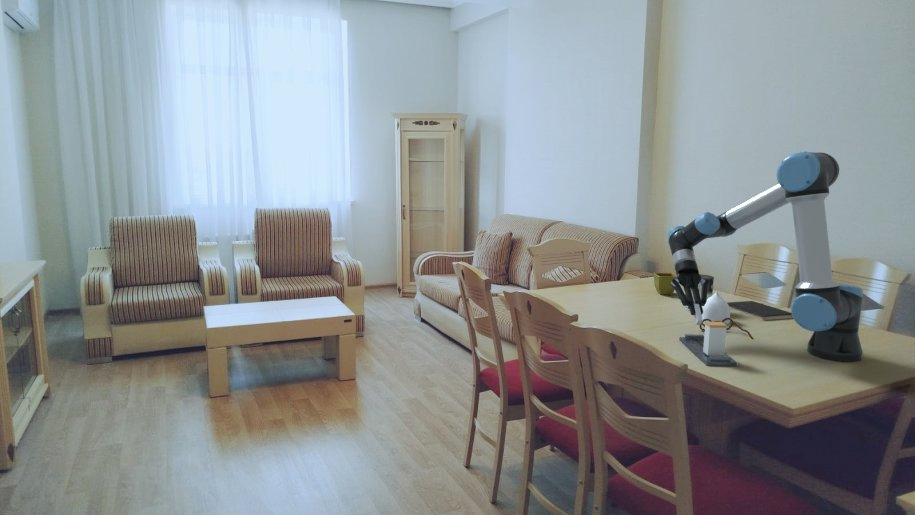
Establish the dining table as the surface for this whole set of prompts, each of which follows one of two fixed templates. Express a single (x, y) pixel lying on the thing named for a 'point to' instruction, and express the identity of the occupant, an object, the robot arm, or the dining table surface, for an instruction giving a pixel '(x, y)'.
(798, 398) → the dining table surface
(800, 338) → the dining table surface
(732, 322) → the glasses
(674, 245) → the robot arm
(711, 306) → the teardrop
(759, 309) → the hardcover book
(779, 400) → the dining table surface
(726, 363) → the board
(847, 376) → the dining table surface
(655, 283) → the flower pot
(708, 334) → the fader knob
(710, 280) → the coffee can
